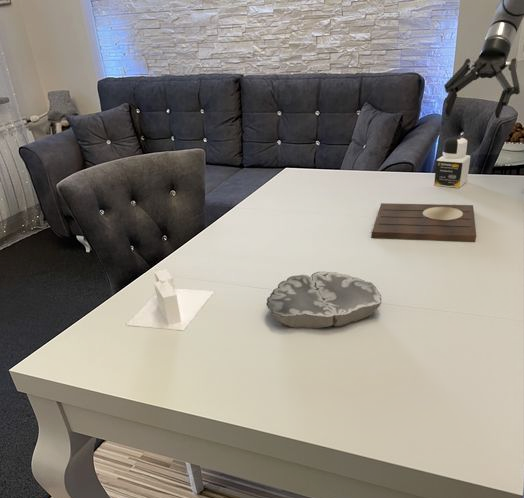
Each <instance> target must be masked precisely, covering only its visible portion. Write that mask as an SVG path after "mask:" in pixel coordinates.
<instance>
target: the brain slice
mask: <svg viewBox="0 0 524 498" xmlns="http://www.w3.org/2000/svg"><path fill="white" fill-rule="evenodd" d="M266 301H267V302H266V303H265V304H266V307H267V308H268V310H269V311H270V313H271V316H272V317H273V318H274V319H276V320H277V322H279V323H281V324H283V325H284V326H288V327H291V328H294V329H299V328H302V329H303V328H305V329H322V328H330V327H331V326H334V327H341V326H346V325H348V324H350V323H355V322H357V321H361V320H362V319H365V318H368V317H370V316H372V314H374V313H375V311H377V310H378V309H379V307H380V306H381V304H382V294H381V293H380V292H379V290H378V288H377V287H376V285H374V284H373V283H372V282H370V281H365V280H364V279H361V278H359V277H353V276H351V275H349V274H343V273H339V272H336V271H335V272H334V271H330V272H329V271H316V272H314V273H311V275H307V274H299V275H291V276H289V277H287V278H286V280H282V281H281V282H279V283H278V284H277V287H276V288H274V289H273V290H272V292H271V293H270V295H269V296H268V297H267V298H266Z"/></svg>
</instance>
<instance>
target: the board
mask: <svg viewBox="0 0 524 498" xmlns="http://www.w3.org/2000/svg"><path fill="white" fill-rule="evenodd" d="M474 210H475V209H474V205H473V204H441V203H439V204H438V203H437V204H436V203H432V204H431V203H385V202H384V203H383V202H381V203H380V204H379V208H378V210H377V214H376V217H375V220H374V224H373V225H372V226H373V227H372V230H371V236H370V237H371V239H391V240H413V241H415V240H419V241H441V242H442V240H443V242H471V243H472V242H473V243H475V242H476V240H477V228H476V220H475V219H476V218H475V213H474V212H475V211H474Z"/></svg>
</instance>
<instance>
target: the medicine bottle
mask: <svg viewBox="0 0 524 498" xmlns="http://www.w3.org/2000/svg"><path fill="white" fill-rule="evenodd" d="M468 142H469V141H468V139H466V138H465V137H459V136H456V137H455V136H453V137H449V138H448V137H447V138H446V139H445V140H443V147H442V155H441V156H440V157H439V158H437V159H436V161H435V162H436V163H435V172H434V183H433V184H434V186H436V187H447V188H456V189H459V188H461V187H462V186H463V185H464V184H466V183H467V182H468V179H469V178H468V177H469V171H470V163H471V155H469V154H467V150H468V149H467V148H468Z"/></svg>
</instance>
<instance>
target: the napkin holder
mask: <svg viewBox="0 0 524 498" xmlns="http://www.w3.org/2000/svg"><path fill="white" fill-rule="evenodd" d="M154 277H155V281H154V282H153V286H154V289H155V290H154V291H155V295H153V296H152V297H151V298H150V299H149V301H148V302H147V303H146V304H145V305H144V306H143V307H142V308H141V309H140V310H139V311H138V312H137V313H136V314H135V315H134V316H133V317H132V318H131V319H130V320H129V322H127V323H126V326H131V327H141V328H153V329H162V330H163V329H164V330H172V331H173V330H175V331H185V330H186V328H188V326H189V325H190V323H191V322H192V321H193V320H194V318H195V317H196V316H197V314H198V313H199V312H200V311H201V309H202V308H203V307H204V306H205V304H206V303H207V301H208V300H209V299H210V297H211V296H212V295H213V294H214V293H215V291H213V290H202V289H201V290H199V289H186V288H175V282H174V277H173V276H172V274H171V273H170V272H169V270H168V269H166V268H165V269H161V270H156V271H154Z"/></svg>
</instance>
